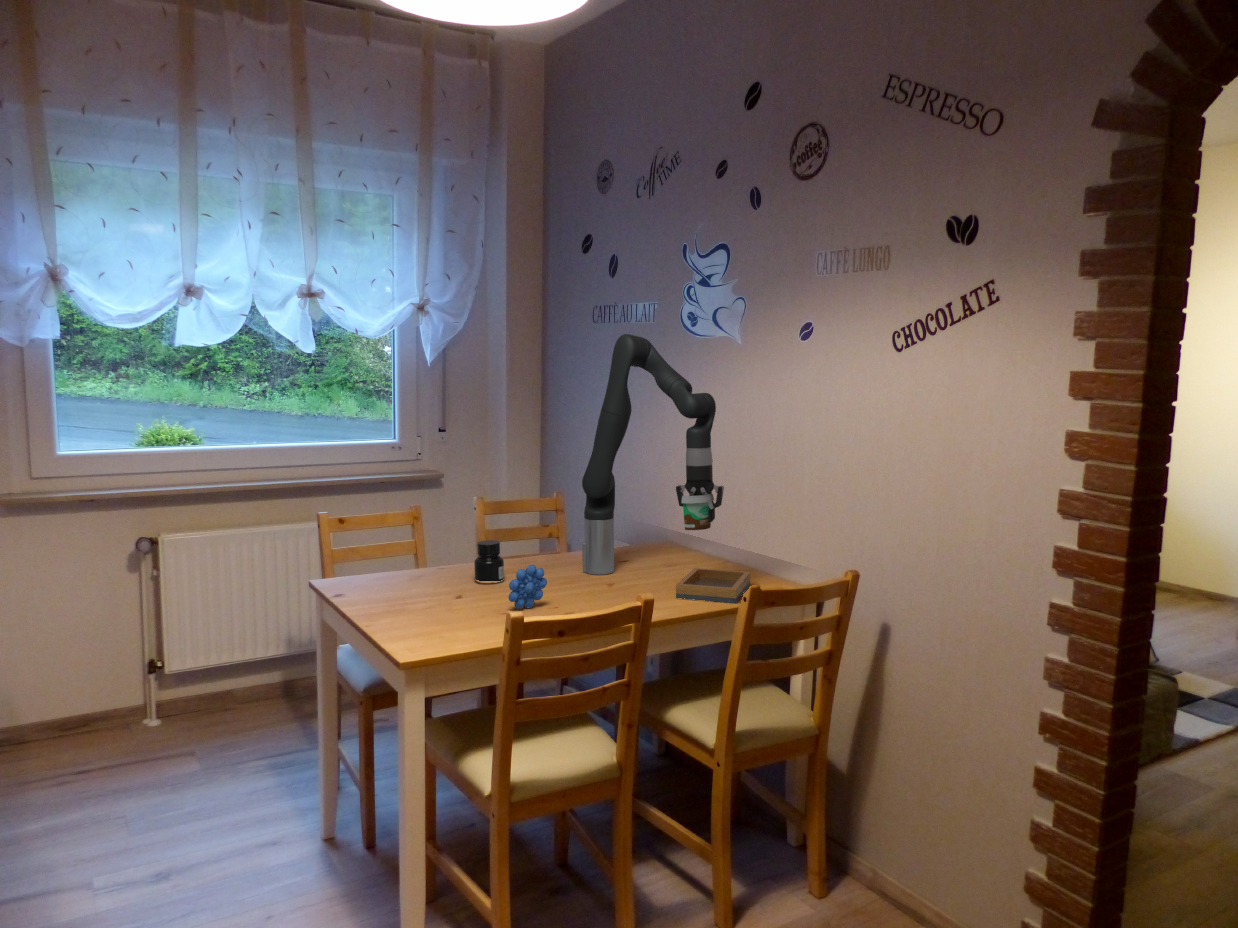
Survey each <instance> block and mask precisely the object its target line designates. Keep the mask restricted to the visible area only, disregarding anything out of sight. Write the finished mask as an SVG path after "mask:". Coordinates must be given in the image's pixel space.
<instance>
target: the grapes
mask: <svg viewBox="0 0 1238 928" xmlns="http://www.w3.org/2000/svg"><path fill="white" fill-rule="evenodd" d="M544 575H545V570H544V568H542V567H539V568H537V566H536V565H535V564H529V565H527V567H526V569H524V568H520V569H518V570H517V571H516V573H515V579H511V581H510V582H509V584H508V588H509V590H510V593H509V594H508V596H507V597H508V601H509V602H510V603H514V607H515V609H516V610H520V608H521V609H522V608H523V607H524V608H526V607H531V608H532V607H533V606H534V605H535V601H540V600H542V598H543V596H544V591H543V589H545V588H546V586H547V585H548V580H547V578H545V577H544Z"/></svg>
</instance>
